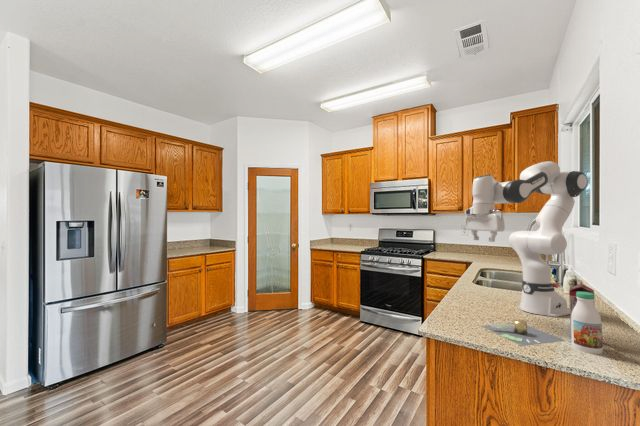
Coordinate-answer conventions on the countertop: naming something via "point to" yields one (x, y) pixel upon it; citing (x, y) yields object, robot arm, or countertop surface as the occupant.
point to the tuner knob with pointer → (513, 326)
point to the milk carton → (573, 296)
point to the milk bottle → (586, 325)
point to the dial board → (524, 335)
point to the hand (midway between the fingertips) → (483, 240)
